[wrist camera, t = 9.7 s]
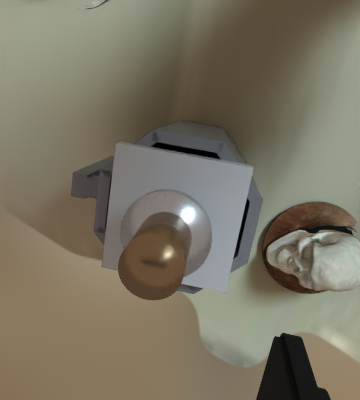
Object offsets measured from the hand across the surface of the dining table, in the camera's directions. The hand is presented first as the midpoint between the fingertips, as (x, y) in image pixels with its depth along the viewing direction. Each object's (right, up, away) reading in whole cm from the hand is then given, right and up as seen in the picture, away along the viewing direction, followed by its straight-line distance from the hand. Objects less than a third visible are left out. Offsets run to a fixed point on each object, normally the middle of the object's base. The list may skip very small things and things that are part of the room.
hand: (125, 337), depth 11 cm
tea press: (+2, +8, +31) cm, 32 cm away
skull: (+18, -1, +32) cm, 37 cm away
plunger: (+3, +7, +28) cm, 29 cm away
